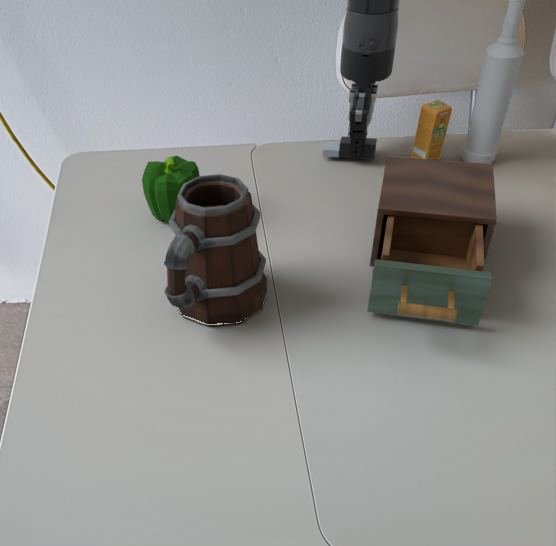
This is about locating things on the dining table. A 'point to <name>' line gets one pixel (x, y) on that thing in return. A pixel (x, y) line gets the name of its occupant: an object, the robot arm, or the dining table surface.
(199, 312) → the mug
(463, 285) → the drawer
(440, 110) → the supplement box
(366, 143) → the usb flash drive
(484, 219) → the cabinet
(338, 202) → the dining table surface
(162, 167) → the bell pepper
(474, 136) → the bottle
